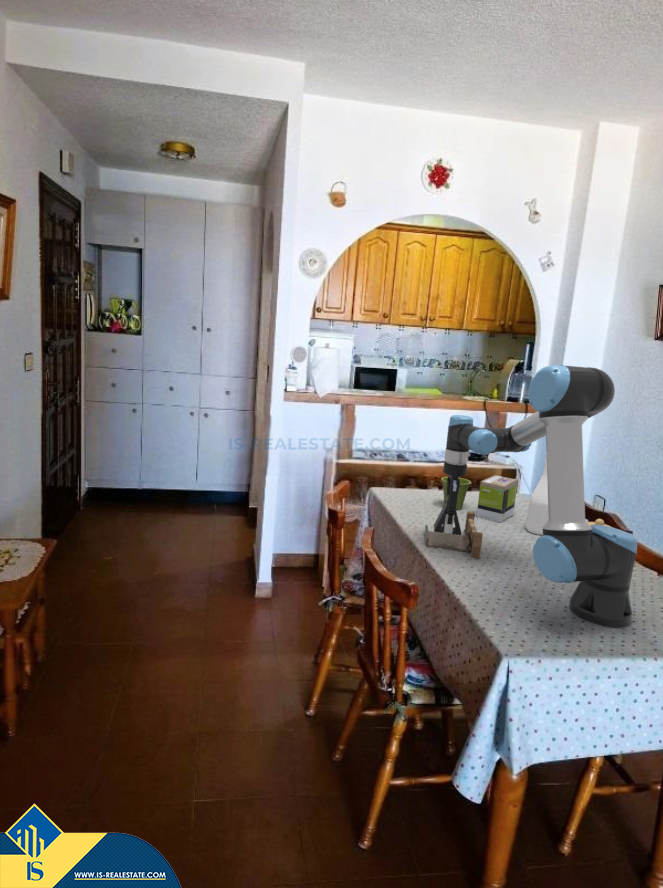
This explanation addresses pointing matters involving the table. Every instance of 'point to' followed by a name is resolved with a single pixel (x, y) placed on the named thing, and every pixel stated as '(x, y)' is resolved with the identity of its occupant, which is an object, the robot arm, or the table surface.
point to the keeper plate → (447, 540)
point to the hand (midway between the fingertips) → (447, 529)
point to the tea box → (497, 498)
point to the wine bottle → (539, 505)
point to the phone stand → (441, 518)
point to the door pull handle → (473, 536)
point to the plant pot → (461, 492)
